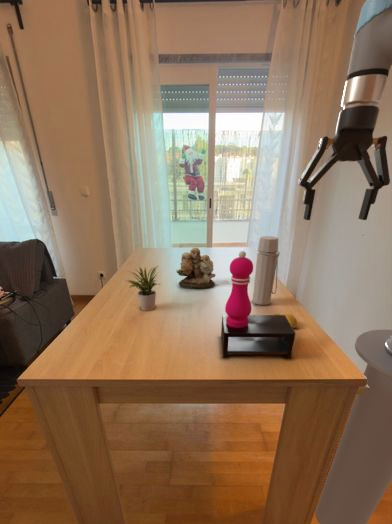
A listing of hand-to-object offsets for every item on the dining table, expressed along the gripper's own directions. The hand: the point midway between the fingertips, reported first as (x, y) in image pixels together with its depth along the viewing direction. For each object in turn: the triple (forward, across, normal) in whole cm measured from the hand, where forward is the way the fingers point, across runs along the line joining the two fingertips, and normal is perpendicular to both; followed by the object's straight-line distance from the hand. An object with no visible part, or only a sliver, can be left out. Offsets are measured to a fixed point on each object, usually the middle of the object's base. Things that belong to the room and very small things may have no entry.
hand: (334, 219), depth 70 cm
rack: (+35, +17, +4) cm, 39 cm away
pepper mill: (+27, +22, +4) cm, 35 cm away
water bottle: (+35, +8, -31) cm, 47 cm away
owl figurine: (+35, +36, -53) cm, 73 cm away
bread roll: (+35, +5, -11) cm, 37 cm away
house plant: (+35, +54, -27) cm, 70 cm away
